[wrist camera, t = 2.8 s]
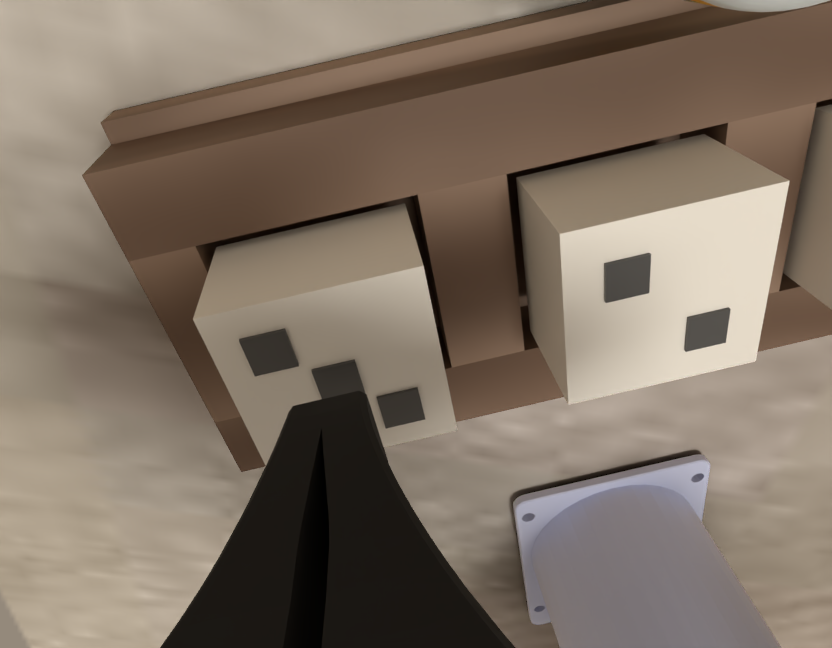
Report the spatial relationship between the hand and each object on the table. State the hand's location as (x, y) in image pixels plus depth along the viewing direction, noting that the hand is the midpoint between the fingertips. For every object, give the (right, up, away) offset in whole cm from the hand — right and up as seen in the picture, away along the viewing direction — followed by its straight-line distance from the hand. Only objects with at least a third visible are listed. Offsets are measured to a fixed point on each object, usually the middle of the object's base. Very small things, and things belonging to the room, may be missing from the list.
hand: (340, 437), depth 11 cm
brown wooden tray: (+6, +6, +6) cm, 10 cm away
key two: (+6, +4, +4) cm, 8 cm away
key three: (-1, +3, +4) cm, 5 cm away
